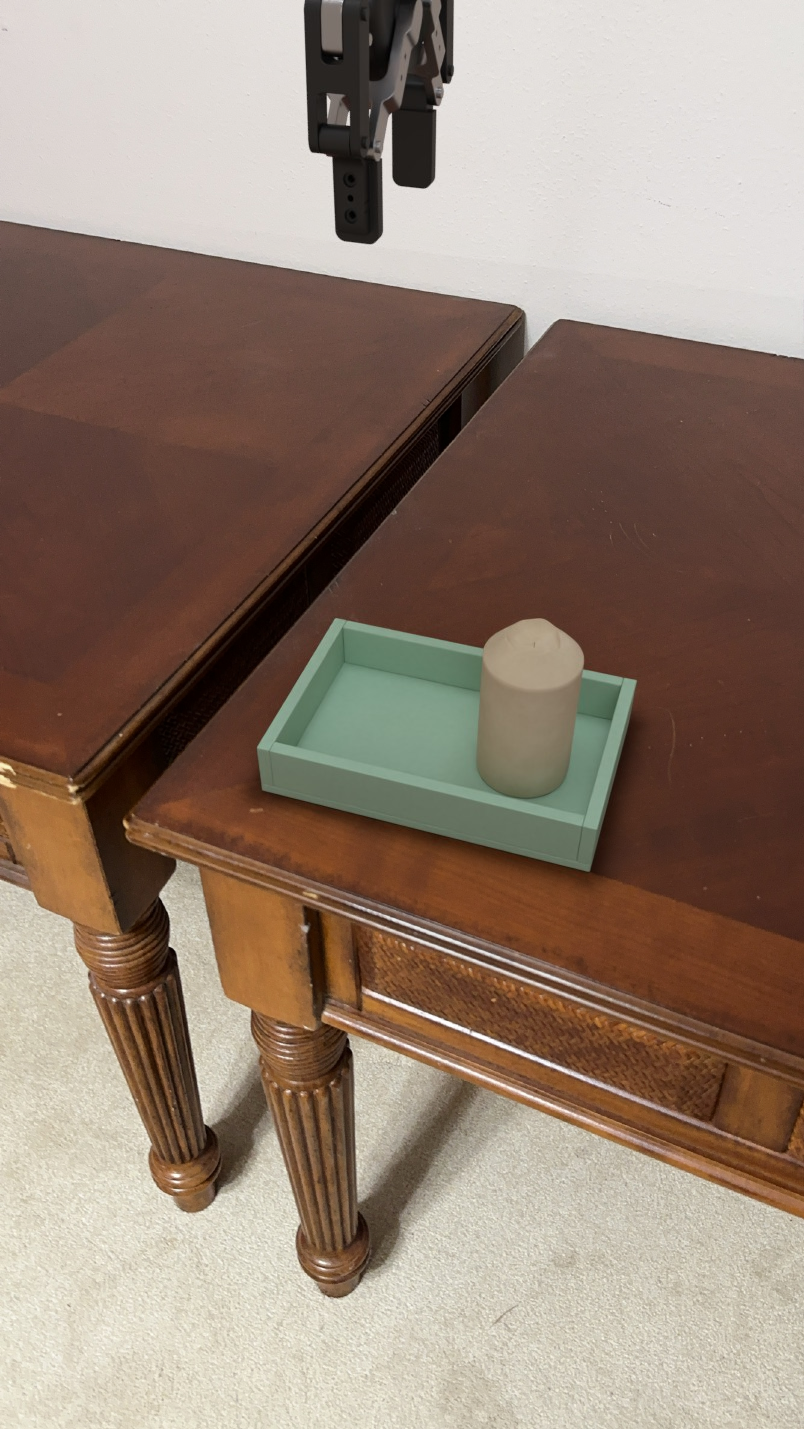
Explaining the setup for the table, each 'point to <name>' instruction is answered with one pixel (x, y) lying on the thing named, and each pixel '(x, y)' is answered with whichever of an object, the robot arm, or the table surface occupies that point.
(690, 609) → the table surface
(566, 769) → the candle
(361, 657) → the tray
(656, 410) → the table surface
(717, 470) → the table surface
